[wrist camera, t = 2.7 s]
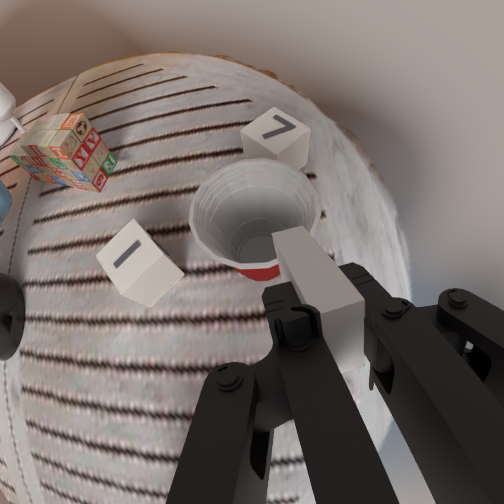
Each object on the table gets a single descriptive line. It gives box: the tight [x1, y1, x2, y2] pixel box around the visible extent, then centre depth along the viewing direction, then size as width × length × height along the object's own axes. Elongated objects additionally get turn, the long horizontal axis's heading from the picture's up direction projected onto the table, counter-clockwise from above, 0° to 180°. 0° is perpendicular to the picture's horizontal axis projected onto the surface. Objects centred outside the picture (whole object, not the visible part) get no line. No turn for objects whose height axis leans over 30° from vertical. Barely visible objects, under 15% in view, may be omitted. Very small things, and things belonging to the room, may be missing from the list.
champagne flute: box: [0, 83, 25, 134], centre depth 38 cm, size 7×7×24 cm
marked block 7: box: [240, 107, 311, 170], centre depth 35 cm, size 6×6×7 cm
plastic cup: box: [188, 158, 321, 281], centre depth 28 cm, size 11×11×12 cm
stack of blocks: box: [9, 113, 117, 193], centre depth 37 cm, size 21×6×12 cm, turn 73°
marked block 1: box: [96, 218, 185, 308], centre depth 31 cm, size 6×6×7 cm
